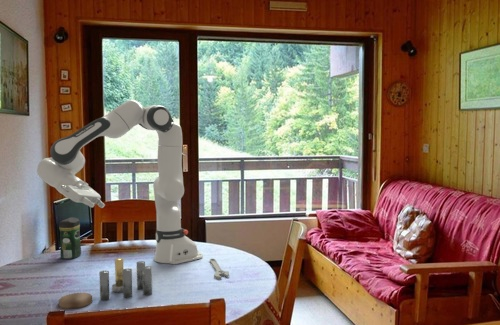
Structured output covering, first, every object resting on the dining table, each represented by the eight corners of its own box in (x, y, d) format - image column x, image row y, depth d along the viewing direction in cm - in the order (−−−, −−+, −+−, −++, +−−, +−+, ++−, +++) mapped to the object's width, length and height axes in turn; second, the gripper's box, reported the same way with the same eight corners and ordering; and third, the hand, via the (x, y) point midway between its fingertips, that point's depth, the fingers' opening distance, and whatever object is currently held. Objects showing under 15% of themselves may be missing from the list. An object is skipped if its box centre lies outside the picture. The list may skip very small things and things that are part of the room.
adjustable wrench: (209, 262, 201) (209, 258, 201) (222, 261, 202) (222, 257, 202) (214, 280, 176) (214, 276, 176) (230, 279, 178) (230, 275, 178)
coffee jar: (68, 253, 213) (66, 216, 212) (83, 253, 213) (82, 216, 211) (57, 259, 204) (55, 220, 202) (73, 259, 203) (72, 220, 201)
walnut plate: (90, 294, 161) (90, 290, 161) (94, 305, 151) (94, 301, 151) (57, 300, 156) (57, 295, 156) (59, 311, 146) (59, 307, 146)
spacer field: (98, 300, 156) (97, 272, 155) (125, 284, 171) (125, 259, 171) (135, 305, 151) (134, 277, 150) (159, 288, 167) (159, 263, 166)
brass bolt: (126, 286, 169) (125, 256, 168) (128, 291, 164) (128, 260, 163) (111, 289, 166) (110, 258, 165) (113, 294, 161) (112, 262, 160)
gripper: (63, 178, 166) (91, 198, 164) (87, 182, 186) (112, 200, 184) (53, 192, 165) (81, 212, 163) (78, 194, 185) (104, 213, 184)
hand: (98, 206), depth 174 cm, fingers open, 8 cm apart
